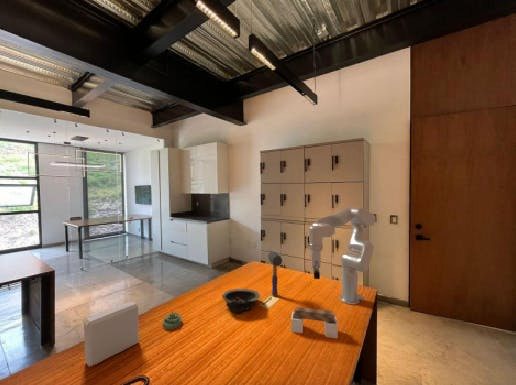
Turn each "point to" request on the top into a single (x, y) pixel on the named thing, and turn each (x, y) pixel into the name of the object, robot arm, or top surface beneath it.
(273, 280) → the rubber mallet
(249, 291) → the stone bowl
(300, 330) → the twin hollow square sockets
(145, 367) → the top surface
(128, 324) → the bevelled white case
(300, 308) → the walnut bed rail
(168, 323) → the decorative artifact
